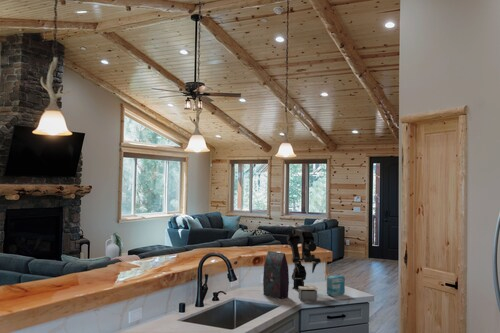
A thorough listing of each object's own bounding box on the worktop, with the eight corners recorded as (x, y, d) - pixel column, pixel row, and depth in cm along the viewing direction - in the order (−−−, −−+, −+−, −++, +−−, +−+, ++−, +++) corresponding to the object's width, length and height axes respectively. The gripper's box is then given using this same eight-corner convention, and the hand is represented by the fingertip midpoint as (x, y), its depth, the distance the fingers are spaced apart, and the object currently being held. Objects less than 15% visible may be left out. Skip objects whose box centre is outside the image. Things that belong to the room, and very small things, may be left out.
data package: (331, 296, 289) (331, 277, 289) (326, 295, 292) (326, 276, 293) (344, 294, 295) (344, 276, 296) (339, 293, 299) (339, 274, 300)
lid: (298, 287, 284) (298, 286, 284) (314, 287, 284) (314, 286, 285) (300, 289, 275) (300, 287, 276) (317, 289, 276) (317, 287, 276)
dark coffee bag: (271, 292, 297) (272, 250, 298) (289, 297, 284) (289, 253, 286) (262, 294, 291) (263, 251, 293) (280, 299, 279) (280, 254, 280)
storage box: (298, 297, 283) (298, 288, 284) (314, 297, 284) (314, 288, 284) (300, 301, 275) (301, 291, 276) (316, 301, 276) (316, 291, 276)
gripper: (294, 251, 290) (294, 275, 290) (322, 251, 292) (322, 275, 291) (291, 248, 302) (291, 272, 301) (318, 249, 303) (318, 272, 302)
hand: (305, 273), depth 298 cm, fingers open, 9 cm apart
